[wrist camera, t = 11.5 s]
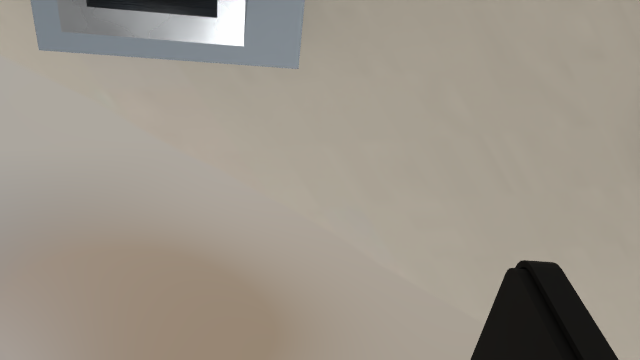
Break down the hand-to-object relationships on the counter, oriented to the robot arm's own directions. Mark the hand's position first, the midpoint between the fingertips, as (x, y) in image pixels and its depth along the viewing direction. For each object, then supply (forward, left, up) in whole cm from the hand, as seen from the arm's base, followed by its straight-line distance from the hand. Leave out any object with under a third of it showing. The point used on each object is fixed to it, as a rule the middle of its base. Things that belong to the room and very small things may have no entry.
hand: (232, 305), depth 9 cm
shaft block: (+4, -3, -22) cm, 22 cm away
